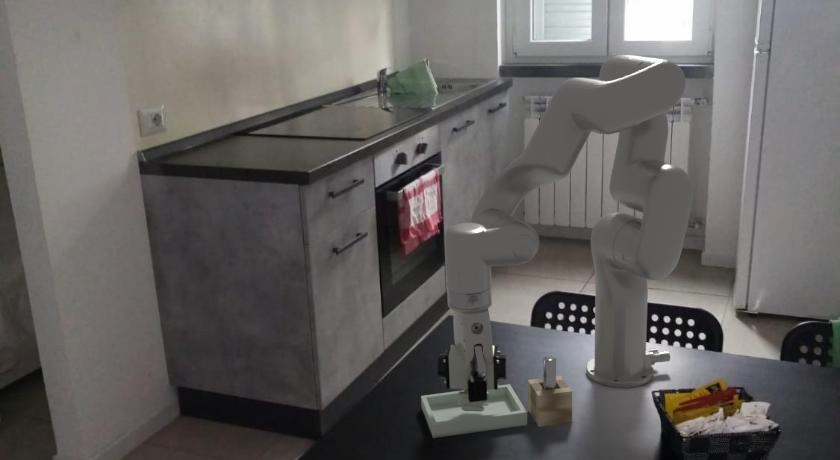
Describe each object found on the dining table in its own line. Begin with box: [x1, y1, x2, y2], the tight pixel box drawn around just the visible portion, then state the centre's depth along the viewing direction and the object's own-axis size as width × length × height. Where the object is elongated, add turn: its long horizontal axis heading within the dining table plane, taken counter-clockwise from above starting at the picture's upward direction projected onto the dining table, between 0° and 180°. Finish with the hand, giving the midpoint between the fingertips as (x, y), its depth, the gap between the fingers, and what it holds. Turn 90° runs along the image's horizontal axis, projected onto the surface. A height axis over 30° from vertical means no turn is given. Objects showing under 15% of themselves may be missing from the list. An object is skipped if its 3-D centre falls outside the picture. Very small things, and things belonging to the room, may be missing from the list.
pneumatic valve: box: [437, 344, 508, 411], centre depth 151 cm, size 6×12×12 cm, turn 82°
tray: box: [420, 383, 528, 439], centre depth 153 cm, size 17×11×2 cm, turn 100°
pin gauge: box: [542, 356, 557, 391], centre depth 150 cm, size 2×2×11 cm
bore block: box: [527, 375, 573, 428], centre depth 151 cm, size 6×6×6 cm
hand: (473, 390), depth 152 cm, fingers closed on pneumatic valve, 5 cm apart
